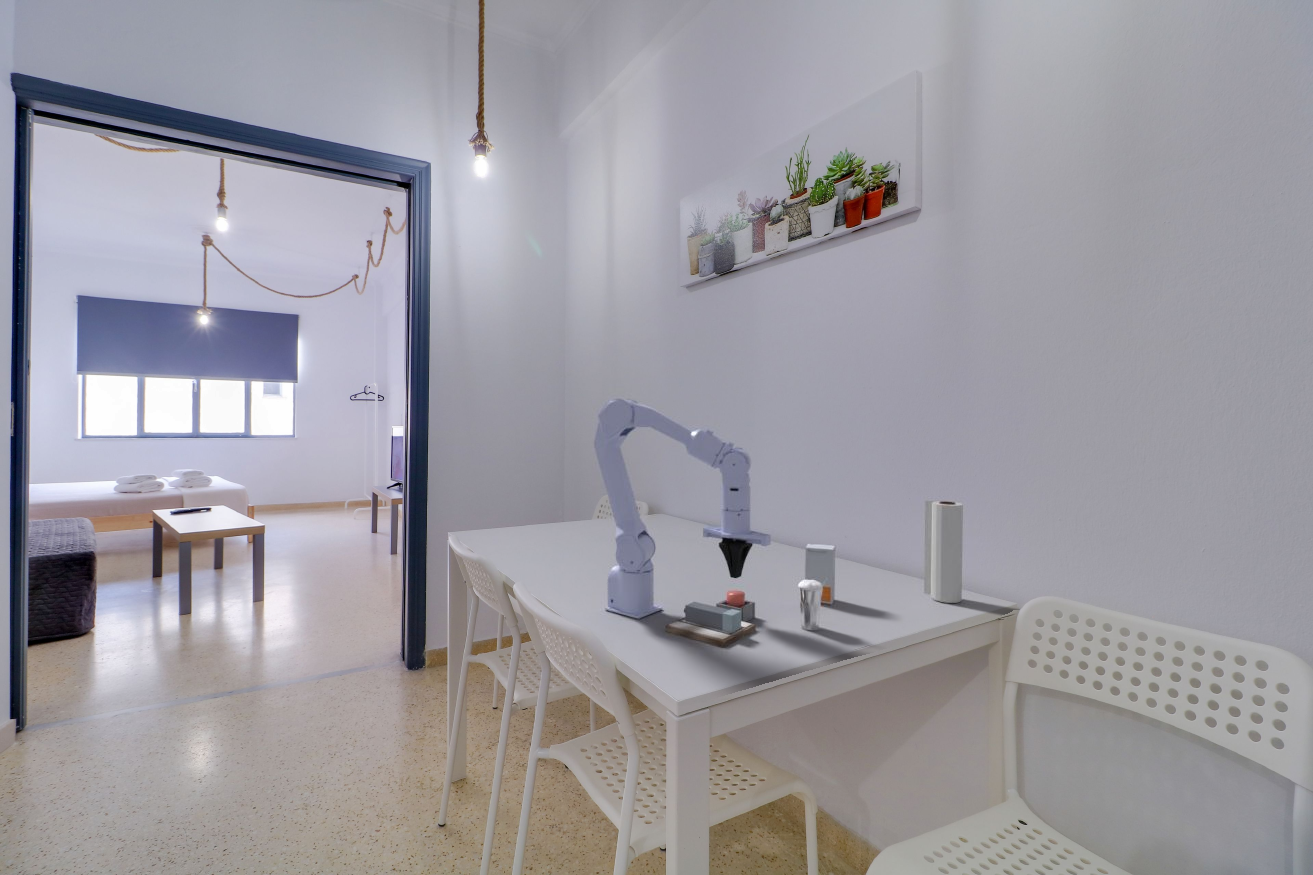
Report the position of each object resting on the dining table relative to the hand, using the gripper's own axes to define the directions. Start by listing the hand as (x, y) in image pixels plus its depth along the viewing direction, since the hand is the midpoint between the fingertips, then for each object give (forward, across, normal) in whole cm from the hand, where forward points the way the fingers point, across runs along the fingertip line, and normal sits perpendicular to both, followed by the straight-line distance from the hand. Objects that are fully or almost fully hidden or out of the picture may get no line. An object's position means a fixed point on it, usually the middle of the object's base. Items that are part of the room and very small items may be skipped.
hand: (735, 576), depth 120 cm
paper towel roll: (+9, +30, +39) cm, 50 cm away
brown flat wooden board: (+8, 0, -9) cm, 12 cm away
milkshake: (+8, +14, +4) cm, 17 cm away
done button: (+6, 0, 0) cm, 6 cm away
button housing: (+8, 0, 0) cm, 8 cm away
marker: (+7, 0, -9) cm, 11 cm away
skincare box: (+9, +8, +21) cm, 24 cm away
